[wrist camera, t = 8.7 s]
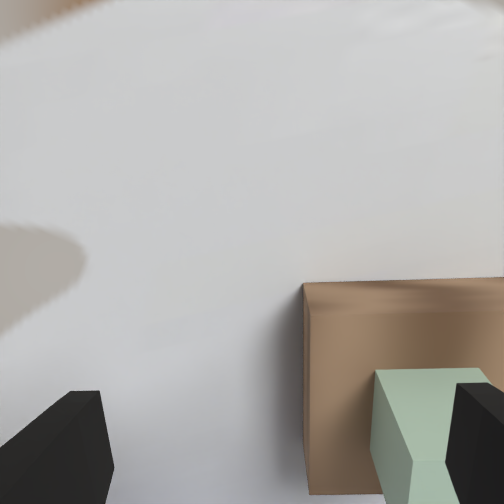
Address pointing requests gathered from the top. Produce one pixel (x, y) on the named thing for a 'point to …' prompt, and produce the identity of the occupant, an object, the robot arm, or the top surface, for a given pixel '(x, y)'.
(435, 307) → the walnut base block
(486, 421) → the robot arm
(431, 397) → the sage block
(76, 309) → the top surface
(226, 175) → the top surface
